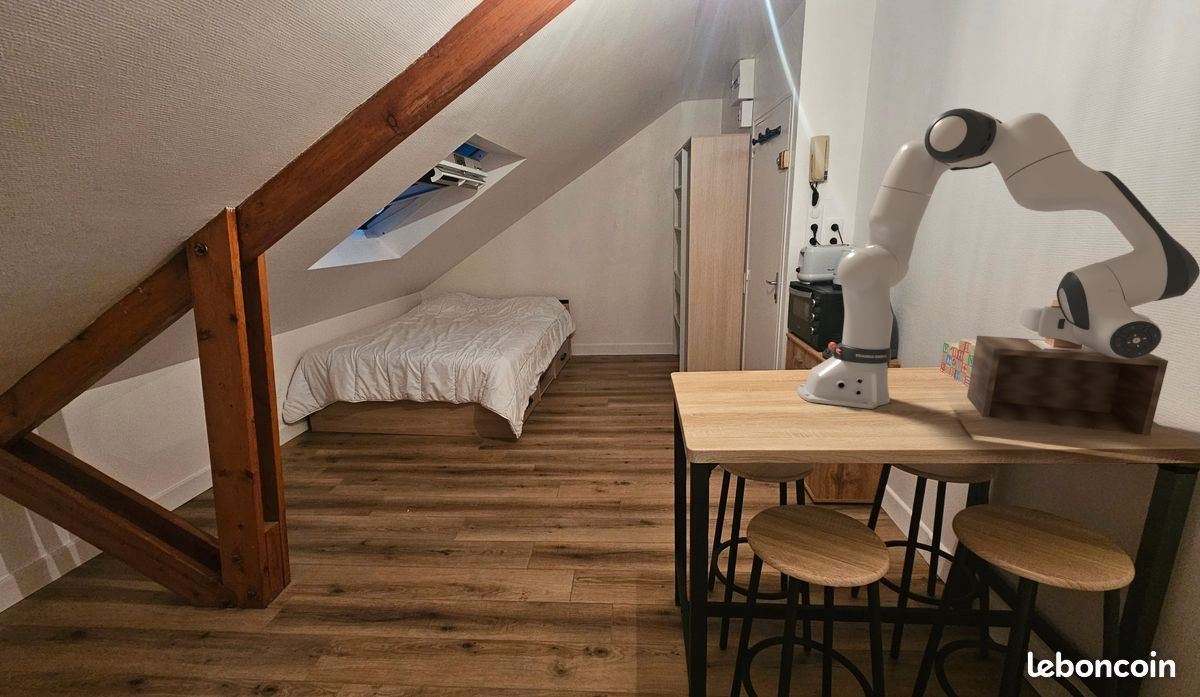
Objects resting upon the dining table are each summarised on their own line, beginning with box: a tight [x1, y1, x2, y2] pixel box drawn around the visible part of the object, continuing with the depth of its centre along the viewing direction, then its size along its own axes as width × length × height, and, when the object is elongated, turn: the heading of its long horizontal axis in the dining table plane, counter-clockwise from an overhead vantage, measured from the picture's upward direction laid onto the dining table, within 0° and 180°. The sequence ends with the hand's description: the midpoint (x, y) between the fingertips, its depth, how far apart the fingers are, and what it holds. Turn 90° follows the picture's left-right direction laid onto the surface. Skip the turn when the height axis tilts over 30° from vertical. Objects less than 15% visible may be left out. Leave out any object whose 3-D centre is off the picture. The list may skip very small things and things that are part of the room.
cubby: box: [966, 335, 1169, 436], centre depth 121 cm, size 29×15×18 cm, turn 67°
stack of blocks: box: [940, 338, 977, 387], centre depth 152 cm, size 21×6×12 cm, turn 170°
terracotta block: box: [1044, 299, 1082, 349], centre depth 118 cm, size 5×5×10 cm
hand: (1067, 314), depth 118 cm, fingers open, 8 cm apart
